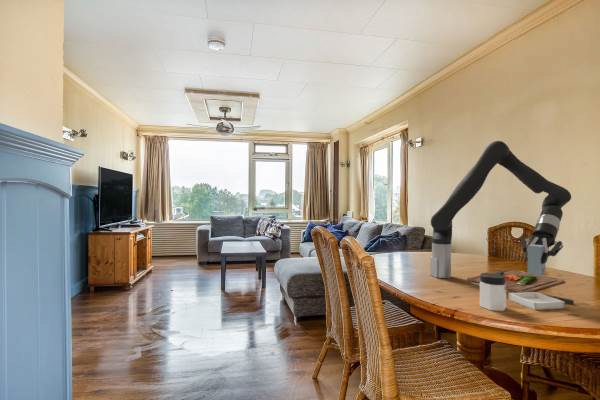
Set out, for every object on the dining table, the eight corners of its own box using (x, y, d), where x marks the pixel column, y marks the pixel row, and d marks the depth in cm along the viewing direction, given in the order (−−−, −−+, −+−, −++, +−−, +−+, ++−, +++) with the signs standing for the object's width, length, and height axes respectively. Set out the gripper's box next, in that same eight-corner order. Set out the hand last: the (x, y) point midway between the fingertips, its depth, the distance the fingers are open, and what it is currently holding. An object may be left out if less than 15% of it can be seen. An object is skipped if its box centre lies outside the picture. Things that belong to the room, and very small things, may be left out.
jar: (482, 301, 126) (482, 271, 126) (507, 306, 121) (507, 274, 121) (477, 308, 119) (477, 275, 119) (503, 313, 114) (503, 279, 114)
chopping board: (520, 296, 134) (520, 289, 134) (460, 282, 158) (460, 275, 158) (568, 282, 157) (568, 275, 157) (510, 271, 180) (510, 265, 180)
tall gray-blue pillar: (527, 273, 125) (527, 245, 124) (532, 271, 128) (533, 244, 127) (540, 275, 121) (540, 246, 121) (545, 273, 124) (545, 245, 124)
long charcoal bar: (538, 297, 131) (538, 293, 131) (539, 296, 132) (539, 293, 132) (572, 304, 122) (572, 300, 122) (573, 303, 123) (573, 300, 123)
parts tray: (534, 310, 117) (534, 303, 117) (508, 299, 129) (508, 293, 129) (564, 308, 119) (564, 301, 119) (535, 297, 131) (535, 291, 131)
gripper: (523, 220, 134) (510, 252, 127) (566, 223, 123) (555, 258, 116) (528, 232, 137) (516, 264, 130) (570, 236, 126) (559, 271, 119)
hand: (534, 261), depth 123 cm, fingers closed on tall gray-blue pillar, 4 cm apart
